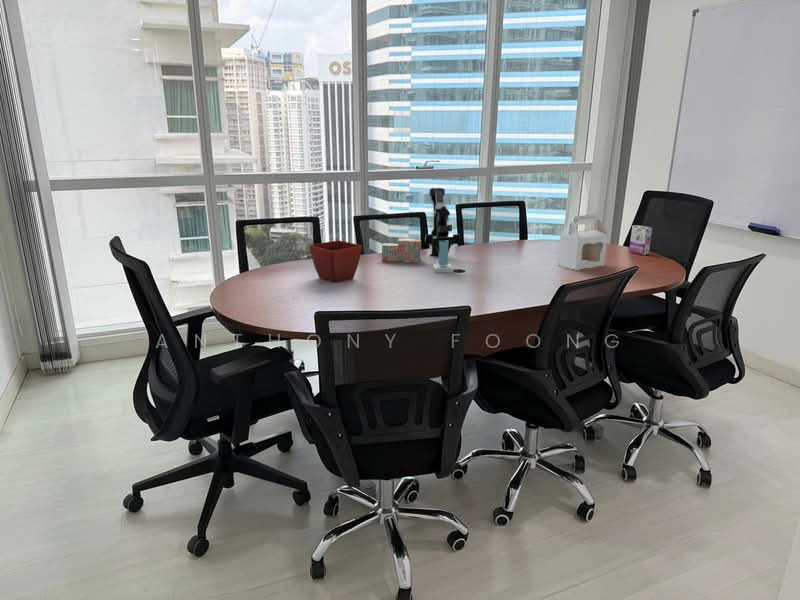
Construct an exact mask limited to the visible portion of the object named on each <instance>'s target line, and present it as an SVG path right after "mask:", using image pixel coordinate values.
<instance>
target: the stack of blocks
mask: <svg viewBox="0 0 800 600" xmlns="http://www.w3.org/2000/svg"><path fill="white" fill-rule="evenodd" d="M421 243H422V241H421V238H420V239H418V238H417V239H416V238H398V240H397V243H387V242H386V243H385V242H383V243H382V245H381V261H382V262H390V261H409V262H408V263H416V262H419V263H420V262H421V247H422V244H421Z"/></svg>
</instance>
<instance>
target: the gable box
mask: <svg viewBox="0 0 800 600" xmlns="http://www.w3.org/2000/svg"><path fill="white" fill-rule="evenodd" d="M599 218H600V216H598V215H597V214H595V213H594V214H587V215H586V214H583V215H576V216H574V219H573V221H570V223H569V224H568V225H567V226H566V227H565V228H564V230H563V231H562V232H561V234H560V236H559V245H558V246H559V247H558V256H557V257H558V258H557V266H558V265H561V266H565V267H568V268H571V269H575V270H576V269H582V268H588V267H594V266H600V265H604V264H605V259H606V257H605V256H606V249H607V241H608V234H607V232H606V230H605V228H604V227H603V224H602V223H601V221H600V219H599ZM584 224H585V225H586V224H587V225H588V224H589V225H590V224H591V226H590V228H589V229H587V230H581V231H578V228H577V226H579V225H584ZM582 260H588V261H589V262H586V263H585V264H582V263H581V261H582ZM561 266H560V267H561ZM604 266H605V265H604ZM571 269H570V270H571Z"/></svg>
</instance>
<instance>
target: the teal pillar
mask: <svg viewBox="0 0 800 600" xmlns="http://www.w3.org/2000/svg"><path fill="white" fill-rule="evenodd" d="M437 257H438V256H437ZM448 261H449V253H448V241H439V257H438V261H437V262H438V263H437V264H439V265H448V264H449V263H448Z"/></svg>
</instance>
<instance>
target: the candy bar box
mask: <svg viewBox="0 0 800 600" xmlns="http://www.w3.org/2000/svg"><path fill="white" fill-rule="evenodd" d="M652 233H653V227H650V226H644V225H638V224H637V225H636V224H635V225H632V226H631V234H630V241H629V248H628V252H629V251H630V252H629V253H631V252H633V253H632V254H635V253H638V254H637V255H640V254H642V255H641V256H647V255H646V254H650V247H651V240H652V235H653V234H652Z"/></svg>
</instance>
